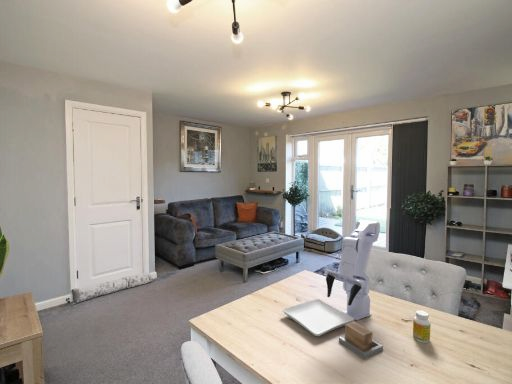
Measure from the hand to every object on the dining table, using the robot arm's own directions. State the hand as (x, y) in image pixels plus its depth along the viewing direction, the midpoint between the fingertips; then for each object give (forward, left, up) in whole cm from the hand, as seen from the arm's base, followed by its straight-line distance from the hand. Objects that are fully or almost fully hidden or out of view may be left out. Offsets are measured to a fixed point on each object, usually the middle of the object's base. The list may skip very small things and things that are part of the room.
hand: (338, 300), depth 100 cm
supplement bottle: (-27, +15, -15) cm, 34 cm away
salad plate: (-2, -13, -15) cm, 20 cm away
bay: (-4, +6, -14) cm, 16 cm away
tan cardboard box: (-4, +6, -15) cm, 16 cm away
